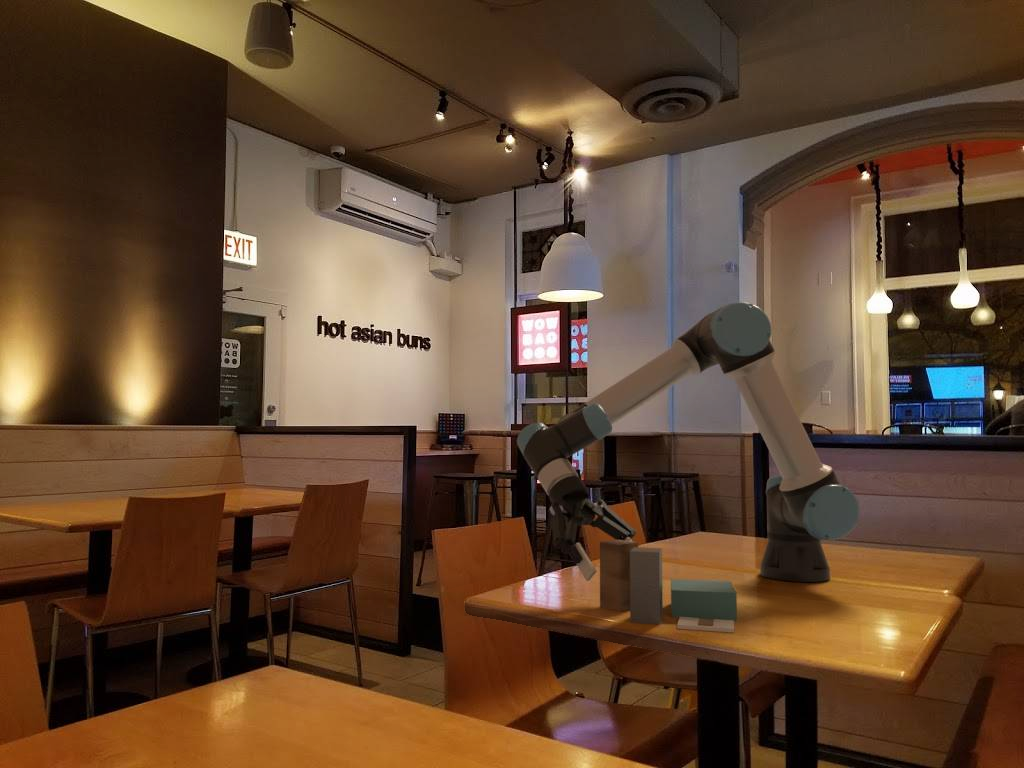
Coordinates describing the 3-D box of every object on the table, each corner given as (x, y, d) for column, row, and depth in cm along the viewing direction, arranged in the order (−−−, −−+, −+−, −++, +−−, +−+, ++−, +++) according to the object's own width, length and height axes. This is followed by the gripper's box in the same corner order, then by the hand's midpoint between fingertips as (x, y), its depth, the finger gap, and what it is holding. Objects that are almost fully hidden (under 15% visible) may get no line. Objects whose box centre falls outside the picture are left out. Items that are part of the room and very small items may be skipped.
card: (734, 624, 127) (733, 619, 127) (734, 632, 122) (734, 627, 122) (679, 620, 130) (679, 615, 130) (677, 628, 124) (677, 623, 124)
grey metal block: (662, 617, 132) (662, 548, 133) (660, 624, 127) (659, 552, 128) (634, 615, 133) (633, 547, 134) (630, 622, 128) (629, 551, 129)
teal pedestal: (730, 608, 141) (730, 581, 141) (737, 622, 130) (736, 592, 130) (671, 605, 143) (670, 578, 143) (672, 619, 132) (671, 590, 133)
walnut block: (618, 603, 143) (618, 539, 144) (638, 607, 139) (637, 542, 140) (600, 606, 140) (599, 541, 141) (619, 611, 136) (619, 544, 137)
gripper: (598, 496, 162) (651, 577, 150) (507, 501, 147) (558, 592, 134) (616, 472, 159) (672, 553, 146) (524, 475, 143) (578, 566, 130)
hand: (618, 572), depth 140 cm, fingers open, 13 cm apart
